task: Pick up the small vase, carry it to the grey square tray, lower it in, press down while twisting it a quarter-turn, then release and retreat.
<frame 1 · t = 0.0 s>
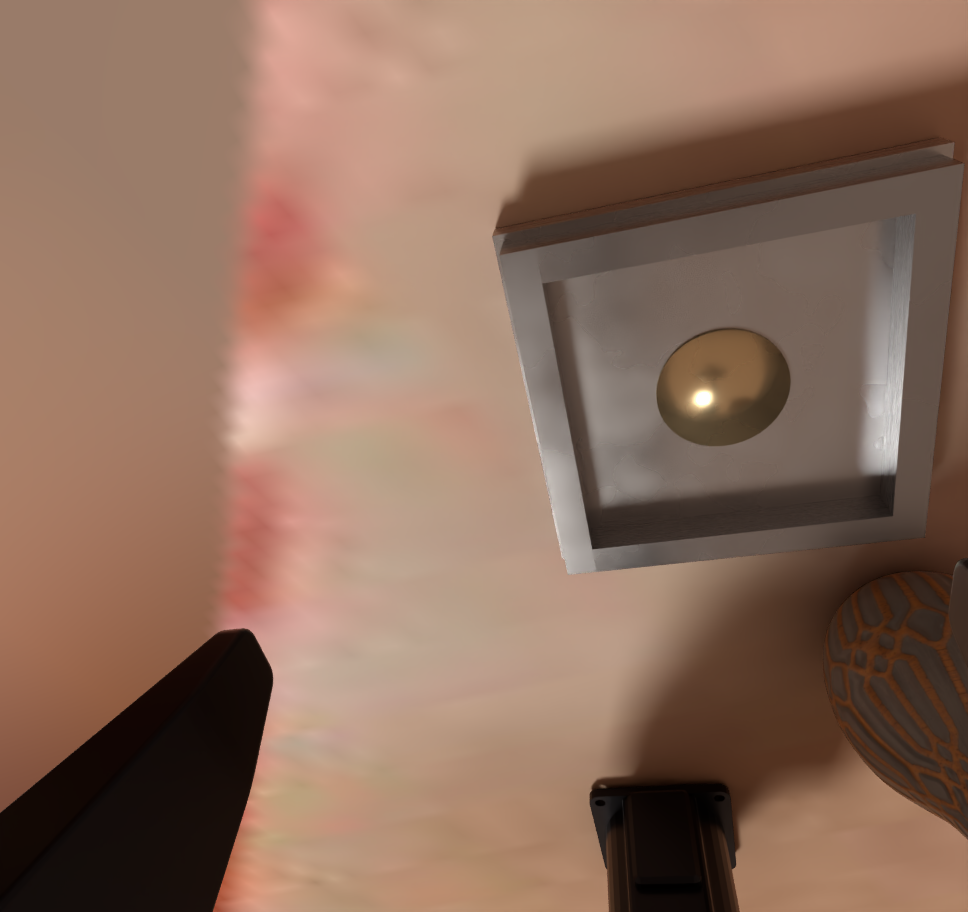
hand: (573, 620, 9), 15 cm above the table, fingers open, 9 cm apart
grey square tray: (717, 378, 23), on the table
vase: (896, 607, 27), on the table
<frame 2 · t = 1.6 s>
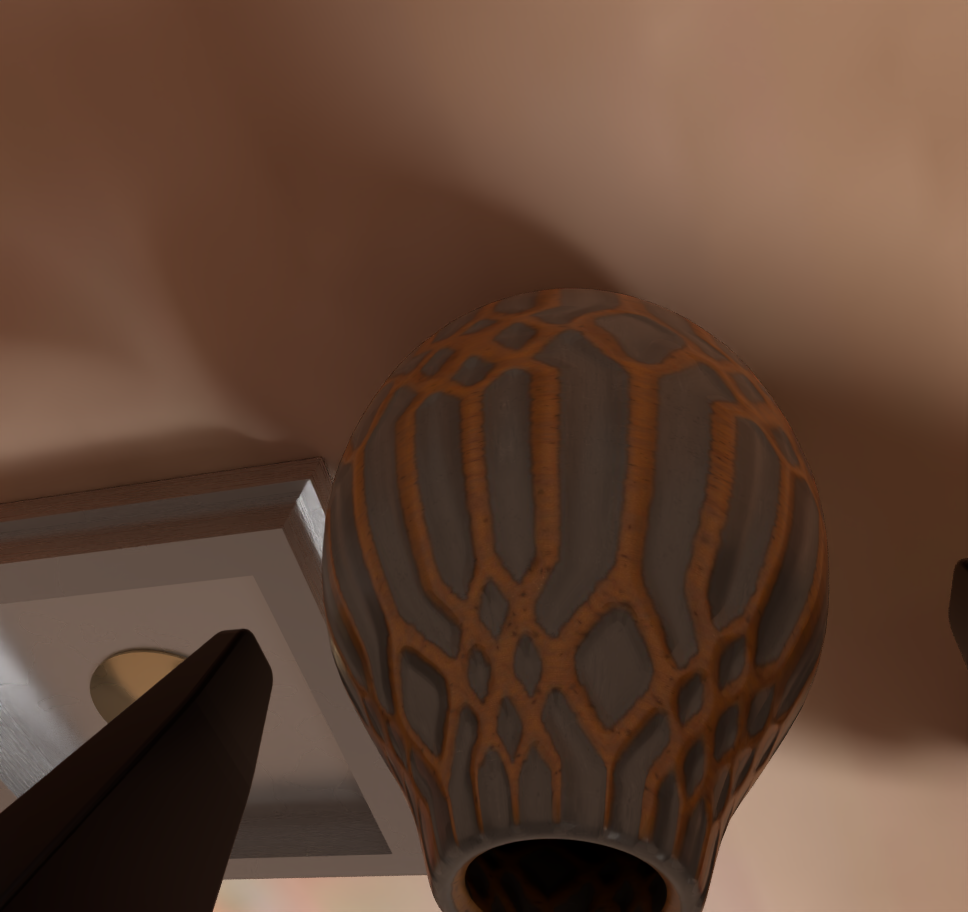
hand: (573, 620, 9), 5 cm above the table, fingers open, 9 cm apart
grey square tray: (185, 680, 19), on the table
vase: (566, 414, 14), on the table
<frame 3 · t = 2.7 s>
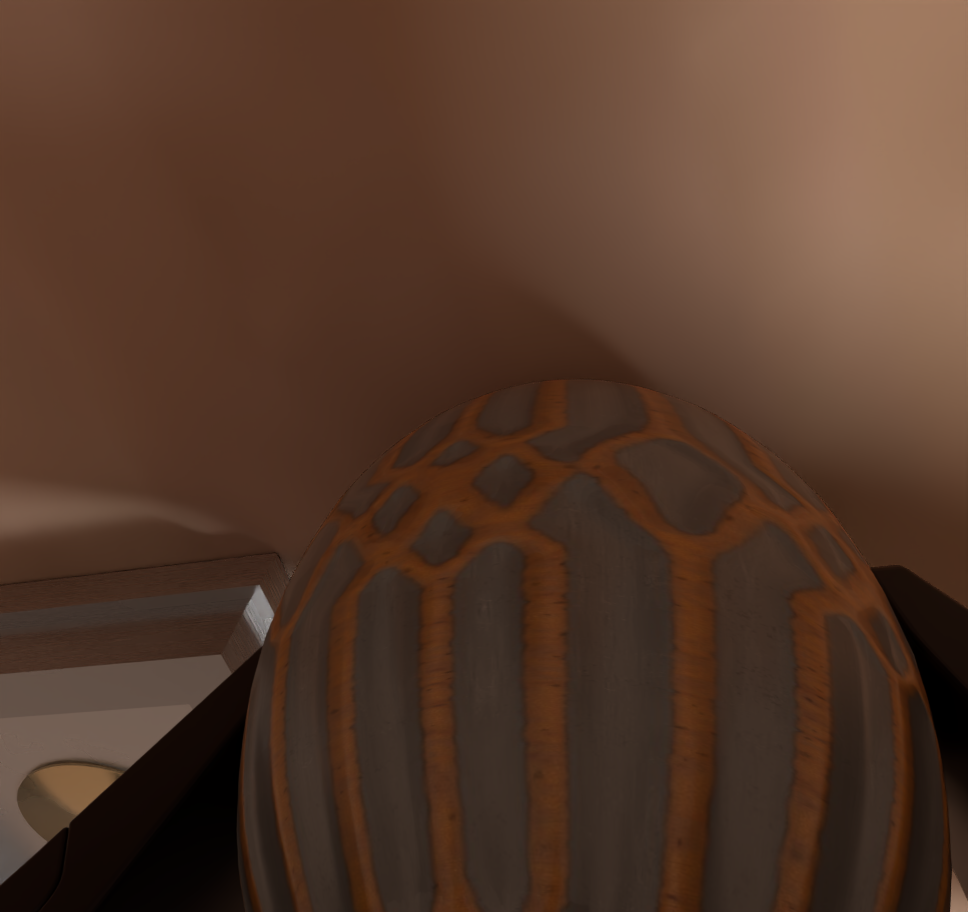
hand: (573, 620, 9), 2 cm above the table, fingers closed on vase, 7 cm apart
grey square tray: (130, 786, 16), on the table
vase: (571, 509, 11), on the table, touching gripper
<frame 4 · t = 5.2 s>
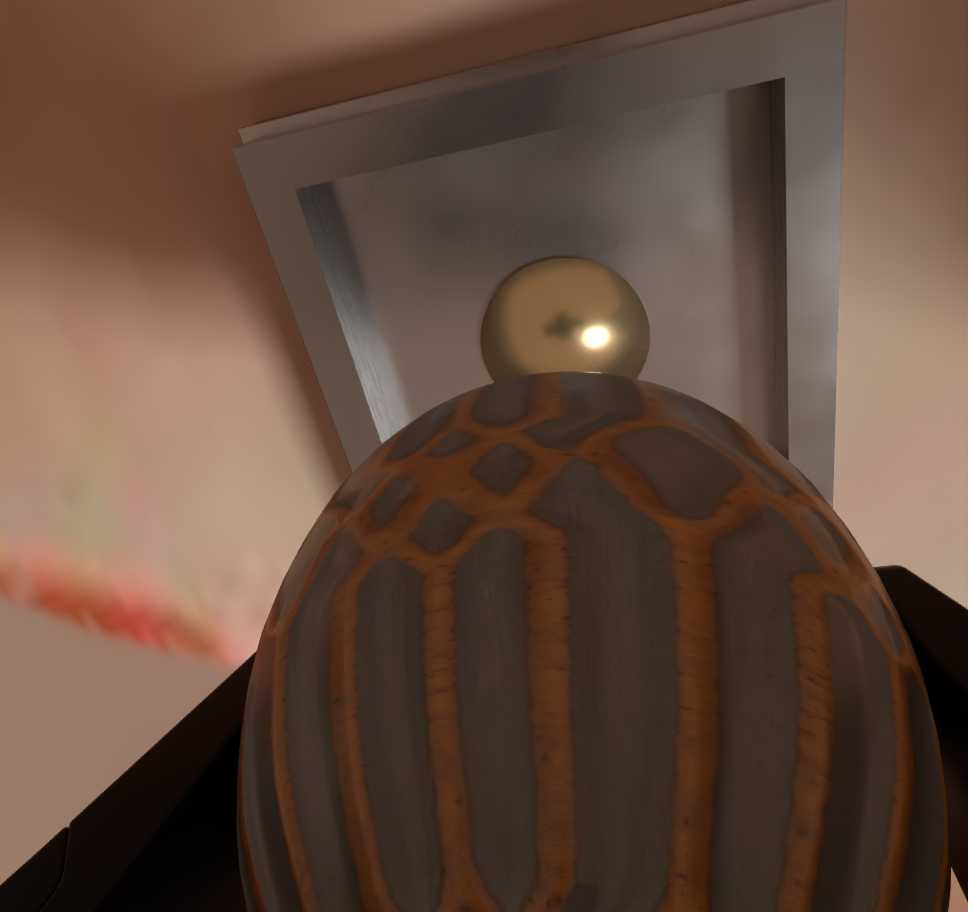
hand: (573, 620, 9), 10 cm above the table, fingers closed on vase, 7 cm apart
grey square tray: (564, 328, 18), on the table
vase: (564, 504, 11), point 8 cm above the table, touching gripper
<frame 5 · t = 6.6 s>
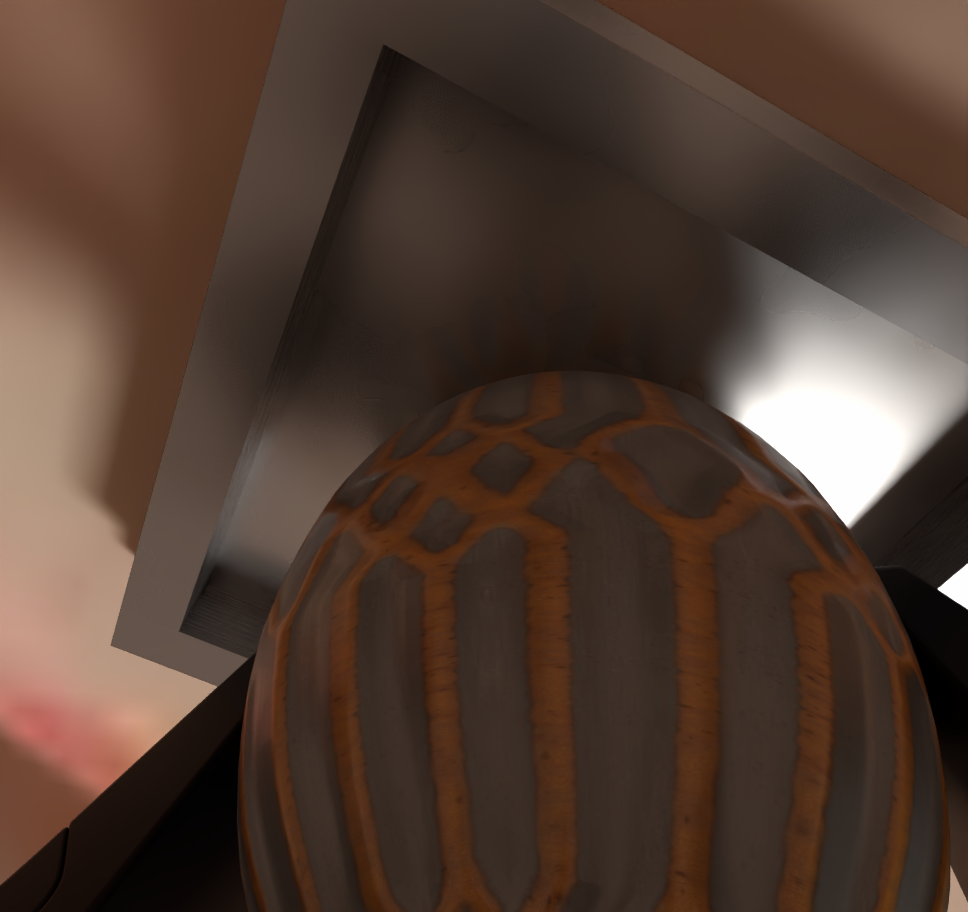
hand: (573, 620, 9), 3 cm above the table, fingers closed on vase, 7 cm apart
grey square tray: (567, 475, 12), on the table
vase: (564, 503, 11), point 1 cm above the table, touching gripper
when the fingers open (3 cm above the table, at t = 7.7 s): vase stays where it is, resting on grey square tray.
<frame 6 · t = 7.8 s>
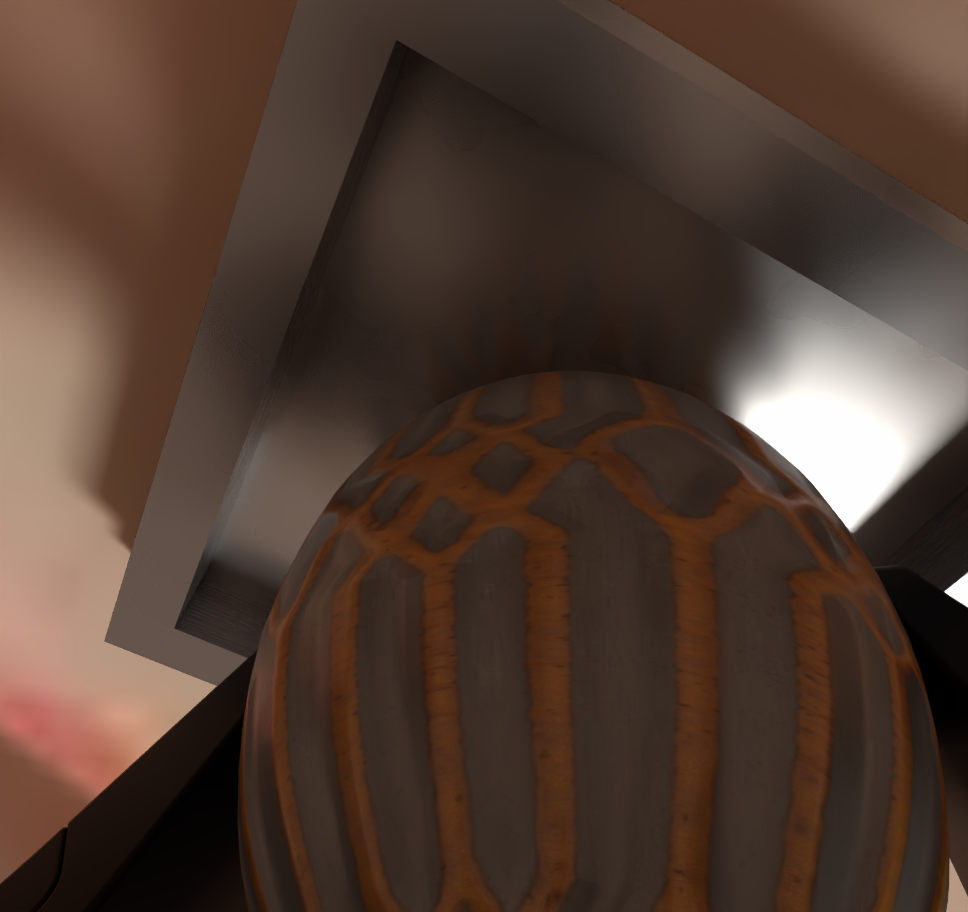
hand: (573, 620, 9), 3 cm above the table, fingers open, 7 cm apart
grey square tray: (568, 477, 12), on the table
vase: (564, 503, 11), point 1 cm above the table, touching grey square tray
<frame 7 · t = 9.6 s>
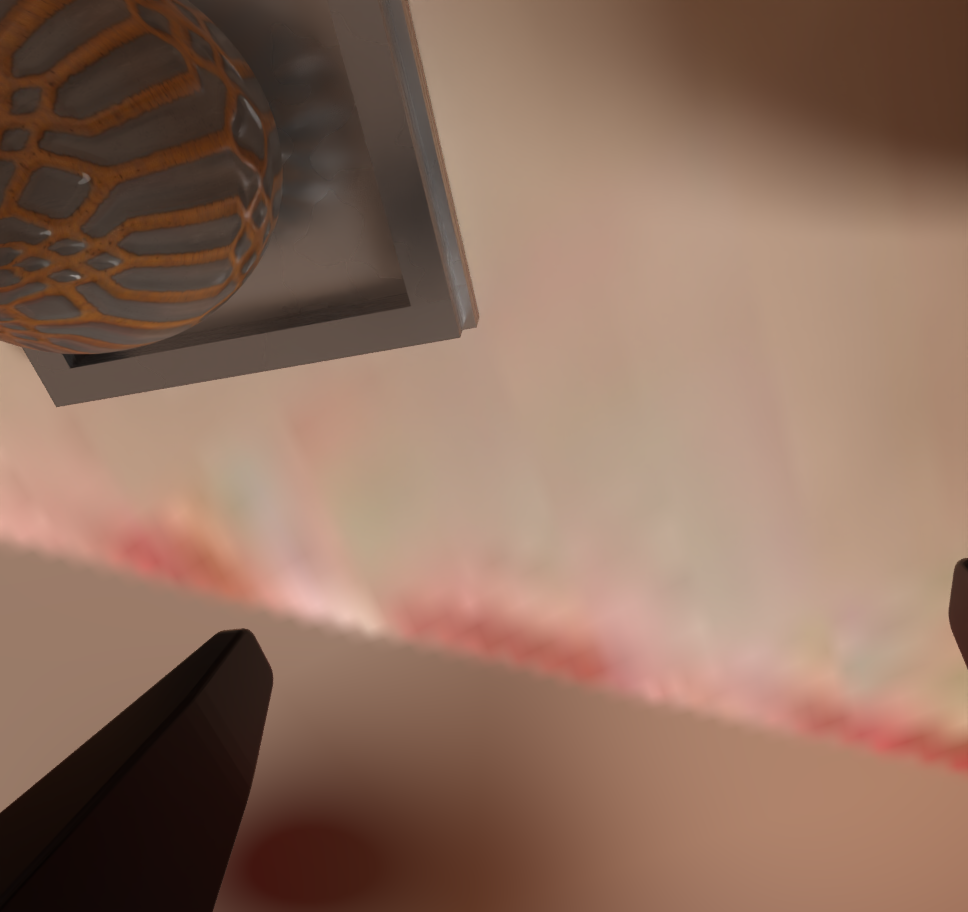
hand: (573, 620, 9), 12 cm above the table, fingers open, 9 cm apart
grey square tray: (189, 129, 18), on the table
vase: (174, 134, 17), point 1 cm above the table, touching grey square tray
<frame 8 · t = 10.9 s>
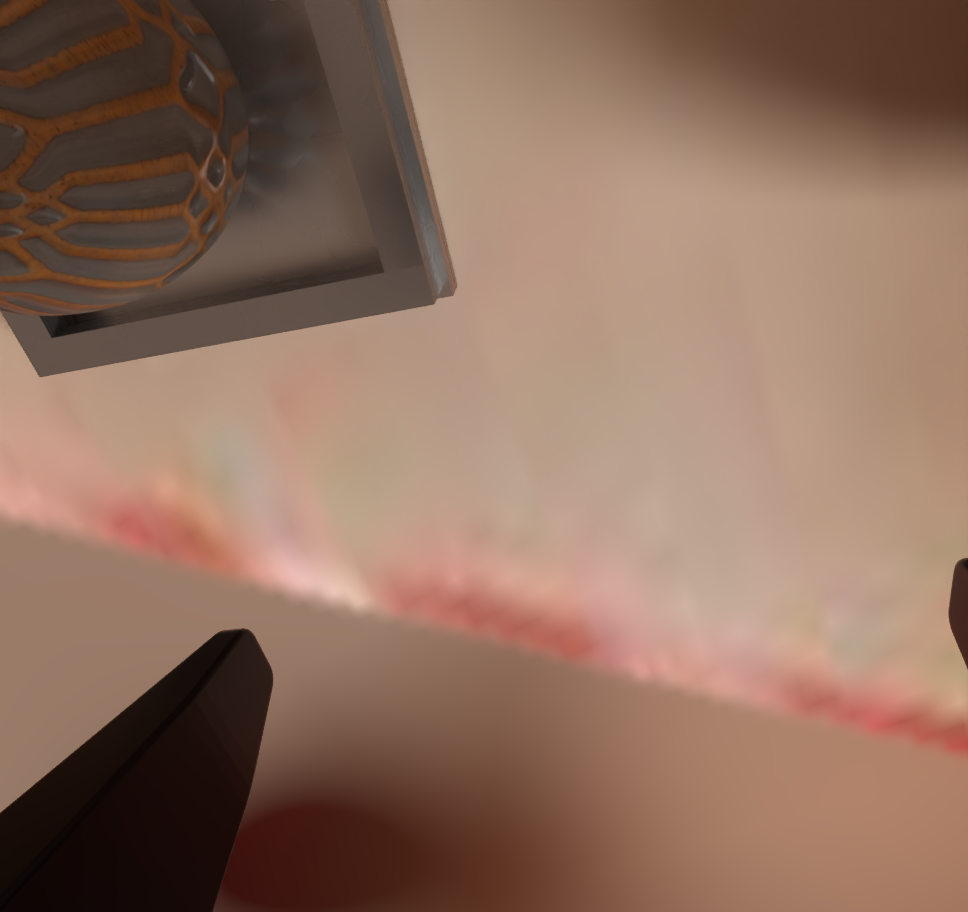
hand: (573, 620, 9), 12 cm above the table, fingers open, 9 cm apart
grey square tray: (165, 96, 18), on the table
vase: (148, 101, 17), point 1 cm above the table, touching grey square tray
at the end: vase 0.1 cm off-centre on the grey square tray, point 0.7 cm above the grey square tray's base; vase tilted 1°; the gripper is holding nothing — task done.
